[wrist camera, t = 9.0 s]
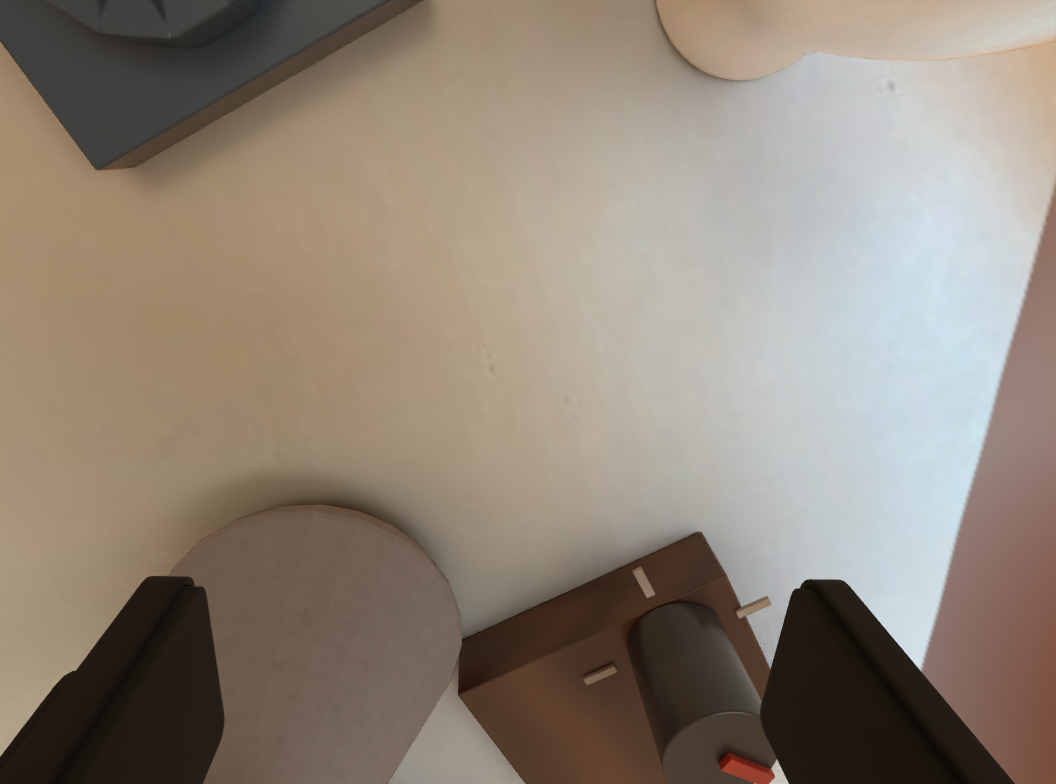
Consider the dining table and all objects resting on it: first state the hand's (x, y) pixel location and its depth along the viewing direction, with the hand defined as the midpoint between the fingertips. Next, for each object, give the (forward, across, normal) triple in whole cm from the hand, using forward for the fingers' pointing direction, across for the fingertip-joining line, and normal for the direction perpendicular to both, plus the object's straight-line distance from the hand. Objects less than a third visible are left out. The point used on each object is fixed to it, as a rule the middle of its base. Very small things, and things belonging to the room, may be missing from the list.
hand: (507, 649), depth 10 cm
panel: (+15, -7, +14) cm, 21 cm away
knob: (+12, -8, +11) cm, 18 cm away
